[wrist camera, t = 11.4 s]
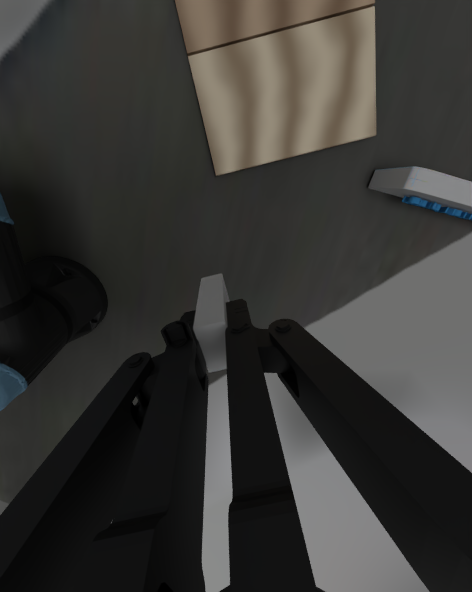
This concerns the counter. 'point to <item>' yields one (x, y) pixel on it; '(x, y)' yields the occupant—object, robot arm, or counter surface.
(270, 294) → the counter surface
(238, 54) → the plank
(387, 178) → the decorative sign
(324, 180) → the counter surface
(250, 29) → the floor strip
